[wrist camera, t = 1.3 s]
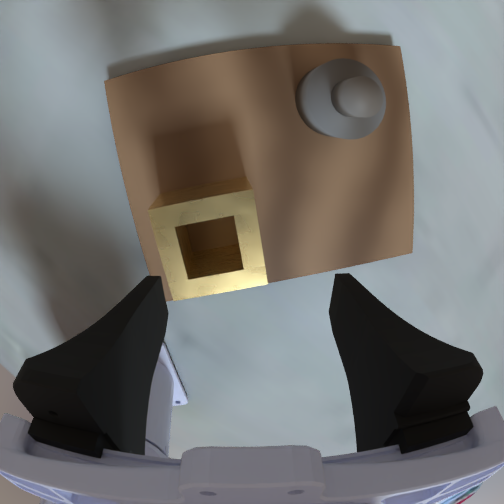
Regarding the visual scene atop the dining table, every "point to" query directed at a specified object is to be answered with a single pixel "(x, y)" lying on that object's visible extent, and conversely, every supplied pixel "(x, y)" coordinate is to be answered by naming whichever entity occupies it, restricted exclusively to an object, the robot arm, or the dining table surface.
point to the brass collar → (212, 260)
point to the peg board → (276, 150)
